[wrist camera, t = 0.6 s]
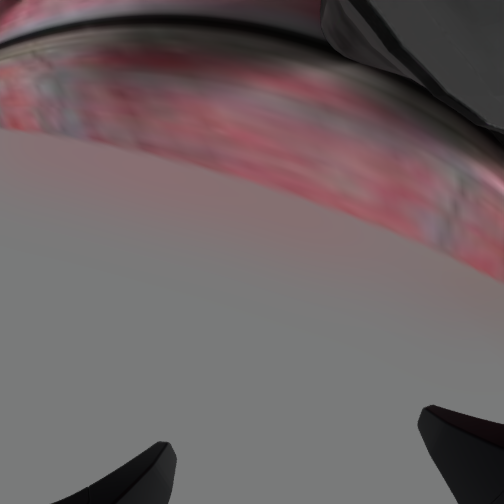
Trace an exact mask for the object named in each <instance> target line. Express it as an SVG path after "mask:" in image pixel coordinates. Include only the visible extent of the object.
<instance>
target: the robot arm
mask: <svg viewBox="0 0 504 504" xmlns="http://www.w3.org/2000/svg"><path fill="white" fill-rule="evenodd" d="M418 429H419V431H420V433H421V436H422V438H423V440H424V443H425V445H426V447H427V450H428V452H429V454H430V456H431V457H432V459H433V461H434V463H435V464H436V466H437V468H438V469H439V471H440V473H441V474H442V476H443V478H444V479H445V481H446V483H447V485H448V486H449V488H450V490H451V492H452V493H453V495H454V497H455V499H456V500H457V502H458V504H504V424H500V423H496V422H492V421H488V420H484V419H480V418H476V417H472V416H469V415H465V414H462V413H458V412H455V411H451V410H448V409H445V408H441V407H438V406H435V405H430V406H427V407H425V408H423V409H422V412H421V414H420V417H419V420H418ZM176 462H177V458H176V454H175V452H174V450H173V448H172V446H171V444H170V443H169V442H161V441H159V442H157V443H155V444H154V445H152V446H151V447H150V448H148V449H147V450H145V451H144V452H142V453H141V454H139V455H138V456H136V457H135V458H133V459H132V460H130V461H129V462H127V463H126V464H124V465H123V466H121V467H120V468H118V469H116V470H115V471H113V472H112V473H110V474H108V475H107V476H105V477H104V478H102V479H100V480H99V481H97V482H95V483H93V484H92V485H90V486H89V487H86V488H84V489H82V490H81V491H79V492H77V493H75V494H73V495H71V496H69V497H66V498H64V499H62V500H59V501H57V502H54V503H52V504H168V502H169V499H170V496H171V492H172V487H173V481H174V474H175V468H176Z"/></svg>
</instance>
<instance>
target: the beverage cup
mask: <svg viewBox="0 0 504 504" xmlns="http://www.w3.org/2000/svg"><path fill="white" fill-rule="evenodd" d="M320 18H321V29H322V31H323V34H324V36H325V38H326V40H327V41H328V42H329V44H330V45H331V46H332V47H333V48H334V49H335V50H336V51H337V52H339V53H340V54H342V55H343V56H344V57H347V58H349V59H352V60H354V61H357V62H359V63H361V64H364V65H368V66H372V67H375V68H379V69H382V70H386V71H389V72H392V73H395V74H398V75H402V76H405V77H407V78H410V79H413V80H414V81H416V82H417V83H419V84H420V85H422V86H424V87H425V88H427V89H428V90H429V91H430V92H431V93H432V95H433V96H434V97H436V98H438V99H439V100H441V101H442V102H444V103H445V104H447V105H448V106H450V107H451V108H453V109H454V110H456V111H457V112H459V113H460V114H462V115H463V116H465V117H466V118H467V119H469V120H470V121H471V122H473V123H474V124H475V125H478V126H481V127H485V128H488V129H491V130H494V131H497V132H500V133H503V134H504V0H321V8H320Z"/></svg>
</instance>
